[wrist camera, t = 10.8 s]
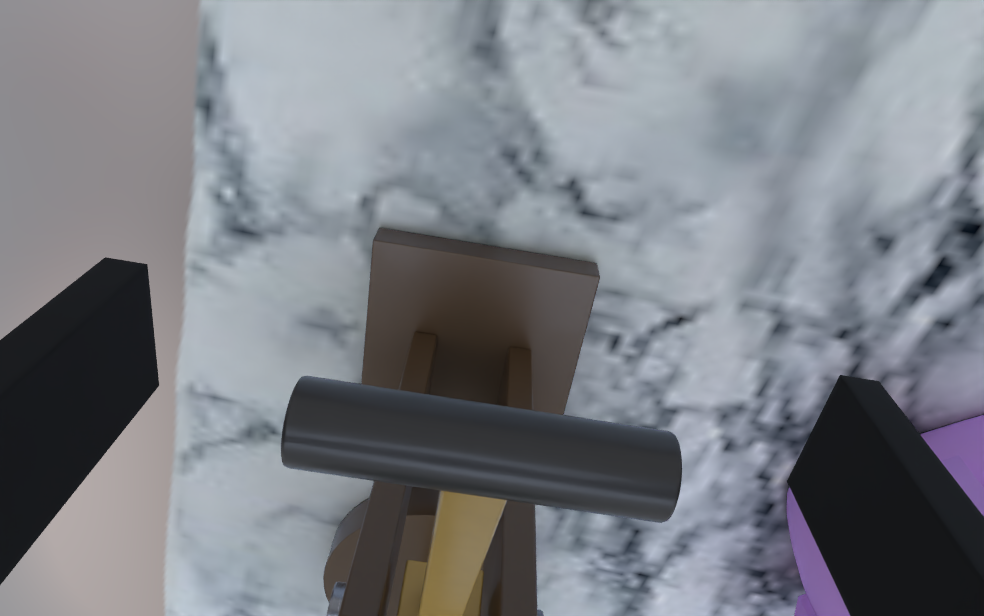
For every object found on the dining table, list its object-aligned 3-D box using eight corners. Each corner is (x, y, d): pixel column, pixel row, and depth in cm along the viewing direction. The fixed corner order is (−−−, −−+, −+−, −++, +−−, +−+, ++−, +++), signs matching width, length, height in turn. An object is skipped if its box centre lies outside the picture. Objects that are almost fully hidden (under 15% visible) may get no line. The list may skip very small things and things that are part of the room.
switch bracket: (378, 227, 28) (253, 491, 15) (597, 262, 28) (660, 550, 15) (359, 451, 34) (257, 781, 21) (540, 478, 34) (551, 818, 21)
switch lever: (310, 332, 11) (264, 472, 9) (677, 390, 11) (689, 534, 10) (342, 579, 21) (323, 664, 20) (533, 605, 21) (528, 692, 20)
